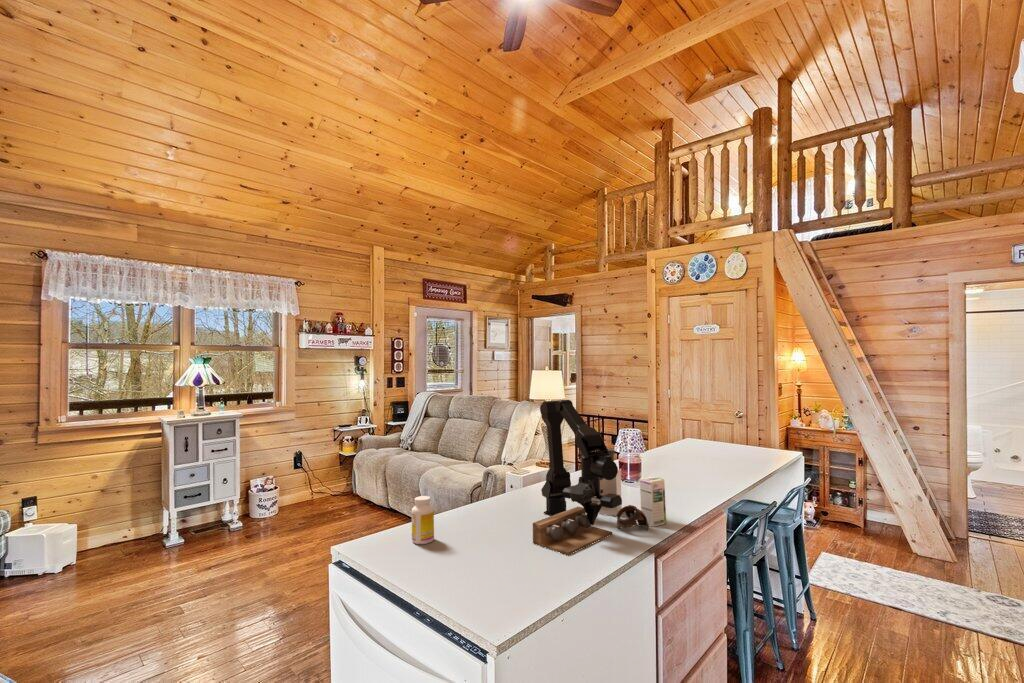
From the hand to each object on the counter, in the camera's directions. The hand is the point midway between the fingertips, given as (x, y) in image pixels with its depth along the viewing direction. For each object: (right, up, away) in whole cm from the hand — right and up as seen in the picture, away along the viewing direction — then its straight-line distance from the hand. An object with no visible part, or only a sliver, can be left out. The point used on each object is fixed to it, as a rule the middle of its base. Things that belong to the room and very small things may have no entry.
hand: (592, 524), depth 147 cm
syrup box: (+22, -3, +9) cm, 24 cm away
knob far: (-4, -2, +4) cm, 6 cm away
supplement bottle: (-52, -4, -3) cm, 52 cm away
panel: (-6, -3, -4) cm, 8 cm away
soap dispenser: (+11, -4, +22) cm, 25 cm away
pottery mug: (+14, -3, +5) cm, 15 cm away
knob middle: (-9, -2, -1) cm, 9 cm away
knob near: (-14, -1, -6) cm, 15 cm away
